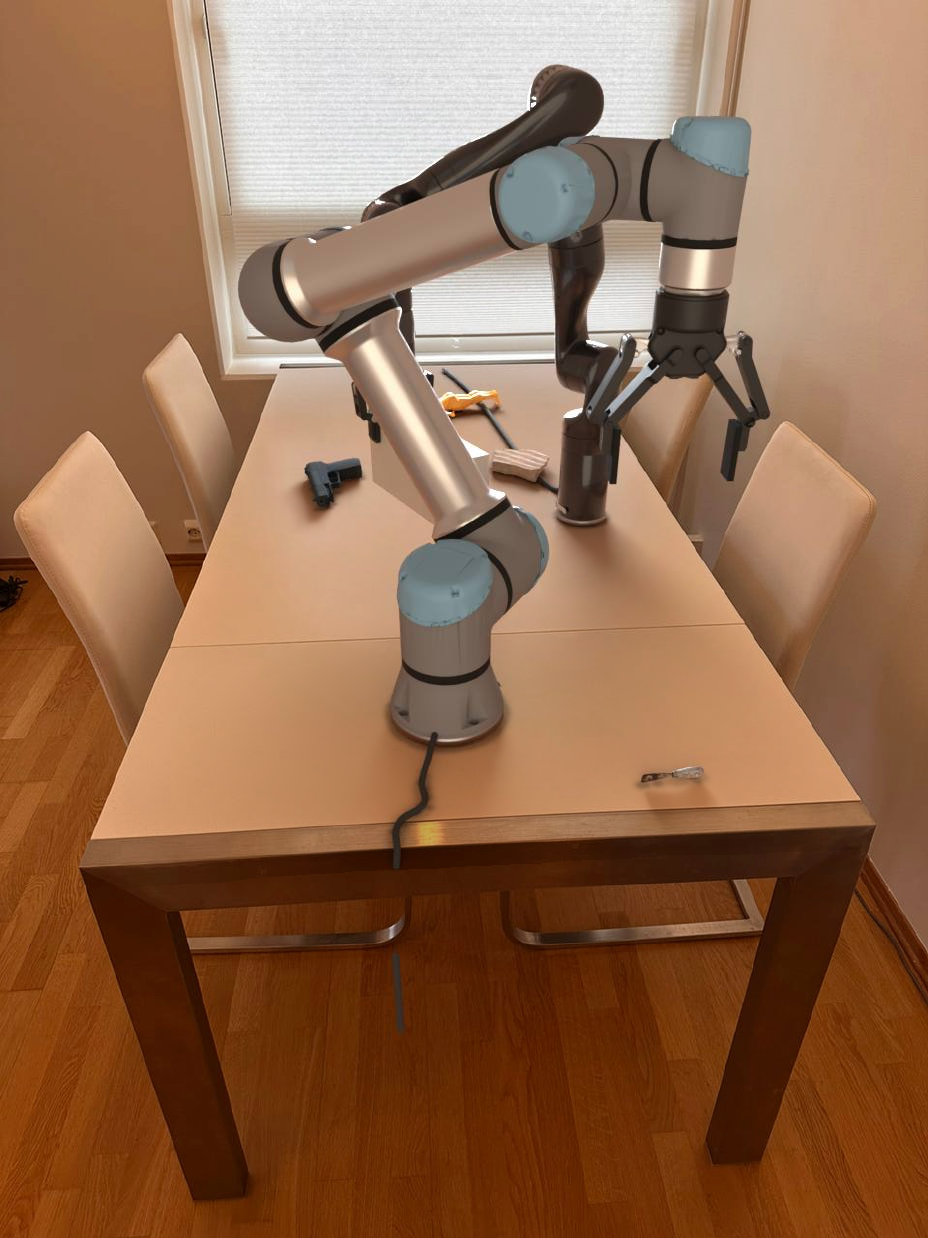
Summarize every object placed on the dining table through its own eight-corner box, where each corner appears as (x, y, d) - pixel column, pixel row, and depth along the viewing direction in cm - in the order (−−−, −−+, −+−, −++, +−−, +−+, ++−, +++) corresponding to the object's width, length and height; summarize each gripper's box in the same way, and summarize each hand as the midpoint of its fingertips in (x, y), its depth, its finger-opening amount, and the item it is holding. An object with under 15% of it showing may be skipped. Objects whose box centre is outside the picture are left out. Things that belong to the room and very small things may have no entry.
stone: (554, 462, 195) (554, 451, 194) (536, 482, 186) (537, 471, 185) (499, 454, 200) (499, 444, 198) (479, 474, 190) (479, 463, 189)
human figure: (395, 413, 223) (394, 398, 221) (438, 390, 237) (438, 375, 235) (462, 429, 215) (462, 413, 213) (502, 404, 229) (503, 388, 227)
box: (488, 530, 139) (489, 453, 133) (454, 539, 136) (453, 462, 130) (403, 473, 159) (401, 405, 152) (372, 481, 156) (368, 411, 149)
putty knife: (703, 777, 109) (705, 767, 109) (642, 788, 108) (644, 777, 107) (700, 772, 110) (702, 762, 109) (639, 782, 109) (640, 771, 108)
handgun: (373, 502, 179) (314, 510, 176) (359, 469, 193) (303, 475, 190) (373, 488, 177) (312, 495, 174) (358, 455, 191) (301, 461, 188)
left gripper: (798, 277, 96) (764, 463, 107) (567, 281, 95) (557, 468, 106) (825, 293, 90) (786, 488, 101) (579, 297, 89) (567, 494, 100)
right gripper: (422, 327, 147) (424, 425, 156) (340, 337, 142) (347, 438, 150) (442, 338, 142) (443, 438, 150) (357, 349, 136) (364, 453, 145)
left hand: (669, 478), depth 104 cm, fingers open, 13 cm apart
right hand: (395, 438), depth 150 cm, fingers closed on box, 6 cm apart
